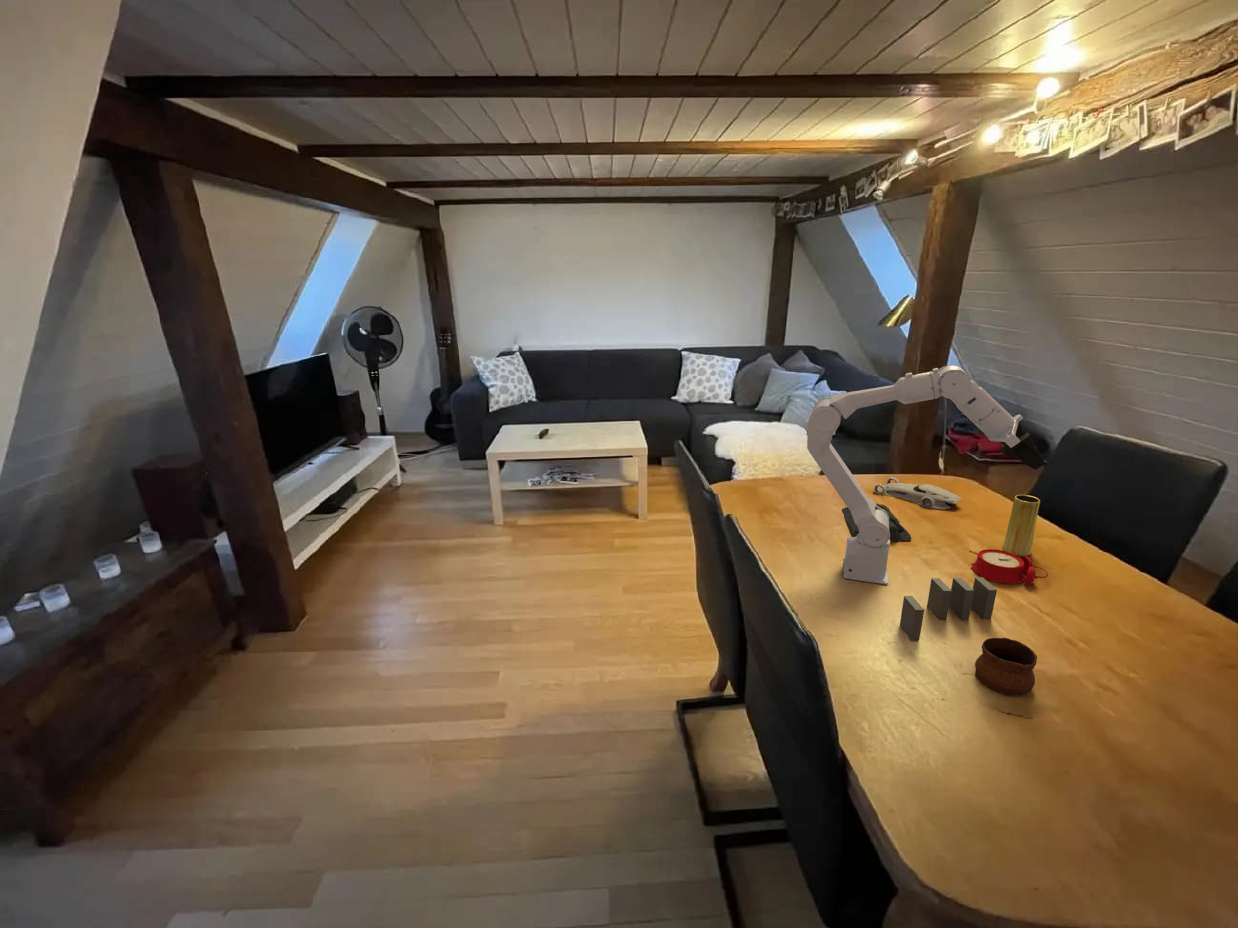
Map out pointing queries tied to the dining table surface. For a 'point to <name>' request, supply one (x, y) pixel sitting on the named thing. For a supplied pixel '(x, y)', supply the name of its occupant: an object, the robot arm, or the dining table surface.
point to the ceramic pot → (1006, 667)
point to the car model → (919, 494)
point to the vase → (1021, 525)
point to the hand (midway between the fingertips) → (1035, 460)
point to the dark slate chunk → (893, 525)
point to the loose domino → (911, 618)
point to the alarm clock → (1004, 567)
